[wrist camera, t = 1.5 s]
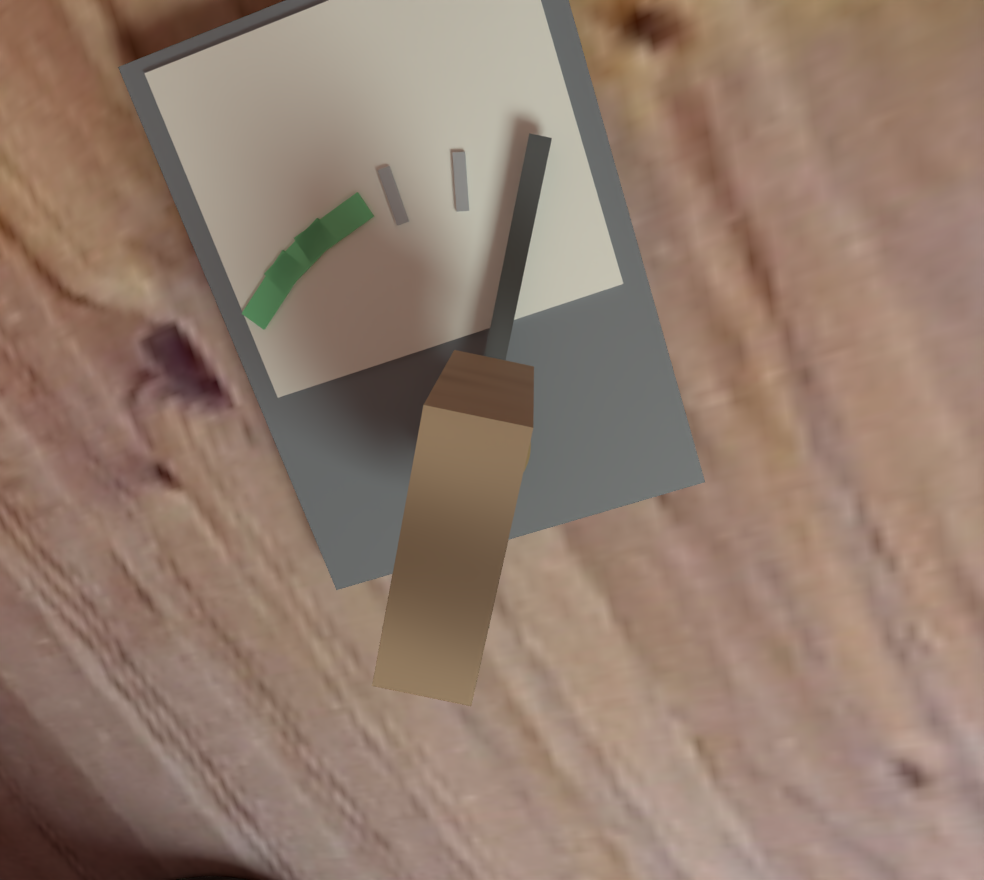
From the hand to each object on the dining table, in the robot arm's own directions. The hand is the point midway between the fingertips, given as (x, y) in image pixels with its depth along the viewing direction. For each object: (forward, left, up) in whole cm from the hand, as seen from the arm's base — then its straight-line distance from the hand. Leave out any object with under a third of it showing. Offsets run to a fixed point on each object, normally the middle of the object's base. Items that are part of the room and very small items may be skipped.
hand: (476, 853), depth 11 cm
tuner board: (-1, +6, -21) cm, 22 cm away
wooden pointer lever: (+1, +3, -18) cm, 19 cm away
